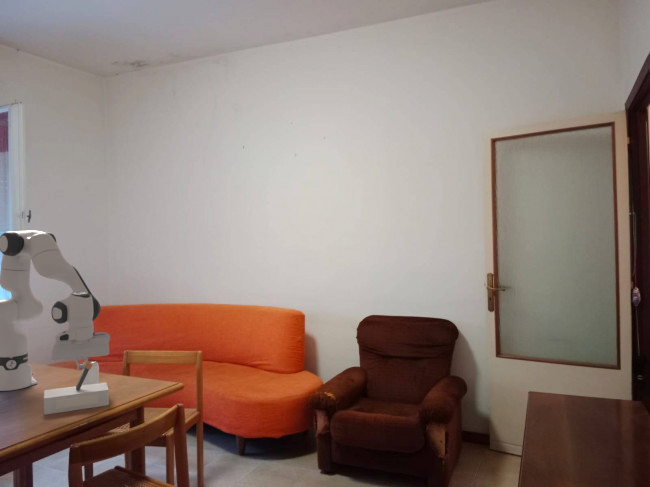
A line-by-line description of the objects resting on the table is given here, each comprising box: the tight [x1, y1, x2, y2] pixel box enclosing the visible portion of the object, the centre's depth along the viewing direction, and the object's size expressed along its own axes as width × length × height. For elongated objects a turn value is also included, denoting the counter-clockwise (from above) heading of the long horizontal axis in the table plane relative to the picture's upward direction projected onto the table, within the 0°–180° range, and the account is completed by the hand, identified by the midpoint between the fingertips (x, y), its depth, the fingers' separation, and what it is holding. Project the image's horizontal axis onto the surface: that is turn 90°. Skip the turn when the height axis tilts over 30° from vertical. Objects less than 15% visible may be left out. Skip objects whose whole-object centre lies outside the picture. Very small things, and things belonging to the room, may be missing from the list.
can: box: [81, 360, 100, 385], centre depth 212 cm, size 6×6×12 cm
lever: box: [75, 360, 93, 391], centre depth 194 cm, size 4×2×11 cm, turn 29°
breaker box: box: [43, 382, 110, 416], centre depth 192 cm, size 12×22×6 cm, turn 119°
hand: (81, 369), depth 193 cm, fingers closed
